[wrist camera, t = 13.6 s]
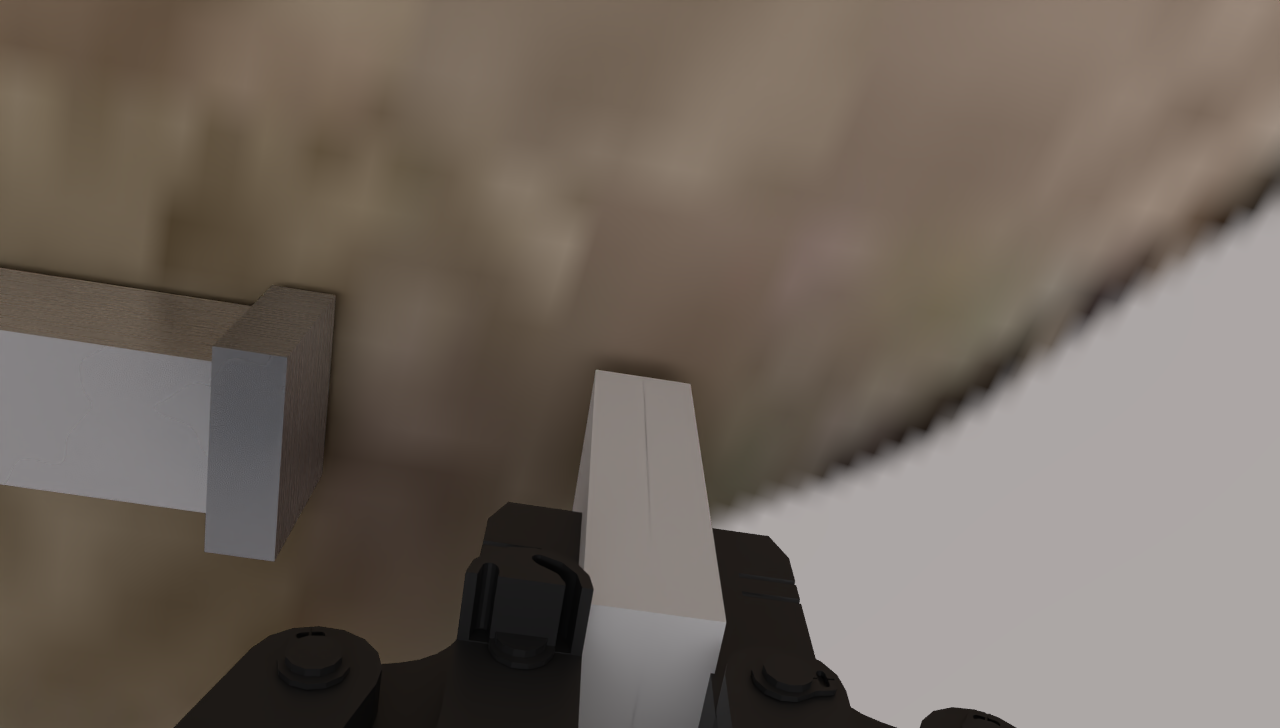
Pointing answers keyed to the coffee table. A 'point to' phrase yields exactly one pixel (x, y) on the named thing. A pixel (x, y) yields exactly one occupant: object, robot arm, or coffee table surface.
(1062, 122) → the coffee table surface
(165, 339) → the lock pin
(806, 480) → the coffee table surface
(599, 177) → the coffee table surface
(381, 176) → the coffee table surface
